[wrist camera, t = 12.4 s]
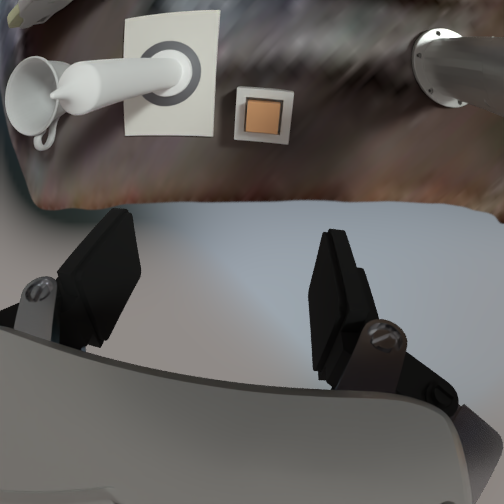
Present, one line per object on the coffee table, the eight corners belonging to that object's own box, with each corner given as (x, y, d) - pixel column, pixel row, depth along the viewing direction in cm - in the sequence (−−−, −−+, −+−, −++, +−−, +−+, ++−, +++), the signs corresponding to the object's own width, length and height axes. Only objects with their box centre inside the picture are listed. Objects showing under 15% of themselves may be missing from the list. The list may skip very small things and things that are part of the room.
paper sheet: (220, 10, 30) (219, 9, 30) (213, 135, 41) (212, 136, 40) (126, 19, 30) (124, 19, 30) (126, 135, 41) (124, 135, 41)
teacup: (49, 139, 41) (13, 158, 33) (41, 61, 33) (1, 69, 25) (101, 131, 41) (65, 150, 33) (95, 44, 32) (56, 45, 24)
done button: (280, 102, 35) (280, 104, 34) (277, 131, 37) (277, 134, 36) (249, 99, 35) (247, 101, 34) (247, 128, 38) (245, 131, 36)
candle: (160, 105, 38) (47, 161, 18) (137, 67, 35) (8, 93, 14) (201, 79, 36) (108, 103, 15) (177, 40, 32) (63, 27, 12)
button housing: (293, 90, 36) (294, 92, 34) (287, 139, 40) (288, 144, 38) (239, 86, 36) (237, 87, 34) (236, 134, 41) (234, 139, 38)
